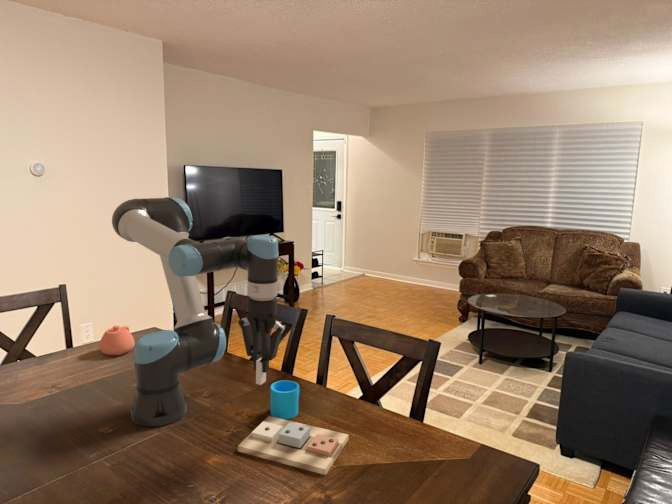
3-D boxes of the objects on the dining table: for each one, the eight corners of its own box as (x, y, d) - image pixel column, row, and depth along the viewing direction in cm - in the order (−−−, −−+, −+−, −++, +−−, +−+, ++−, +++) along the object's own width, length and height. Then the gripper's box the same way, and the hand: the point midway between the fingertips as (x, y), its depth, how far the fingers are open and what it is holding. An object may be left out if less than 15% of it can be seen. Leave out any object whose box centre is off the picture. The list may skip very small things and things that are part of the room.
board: (237, 451, 119) (237, 445, 119) (269, 420, 134) (269, 415, 133) (325, 475, 110) (325, 469, 110) (348, 439, 125) (348, 434, 125)
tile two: (278, 442, 120) (278, 433, 120) (289, 431, 126) (289, 421, 125) (300, 448, 118) (300, 438, 117) (309, 436, 123) (310, 426, 123)
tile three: (307, 455, 118) (307, 445, 117) (316, 442, 123) (317, 433, 123) (329, 461, 115) (329, 451, 115) (338, 448, 121) (338, 438, 120)
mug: (288, 422, 133) (288, 395, 132) (264, 414, 137) (264, 388, 136) (310, 404, 144) (310, 379, 142) (288, 397, 147) (288, 373, 146)
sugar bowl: (92, 356, 176) (90, 330, 174) (115, 343, 189) (114, 318, 187) (122, 359, 174) (120, 332, 172) (143, 345, 187) (142, 321, 186)
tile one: (251, 441, 123) (251, 431, 123) (263, 429, 129) (263, 420, 128) (271, 446, 121) (271, 436, 121) (282, 434, 127) (282, 425, 126)
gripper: (232, 296, 119) (231, 383, 123) (277, 304, 114) (275, 393, 119) (248, 289, 126) (247, 371, 130) (291, 296, 121) (289, 381, 126)
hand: (260, 382), depth 124 cm, fingers closed
